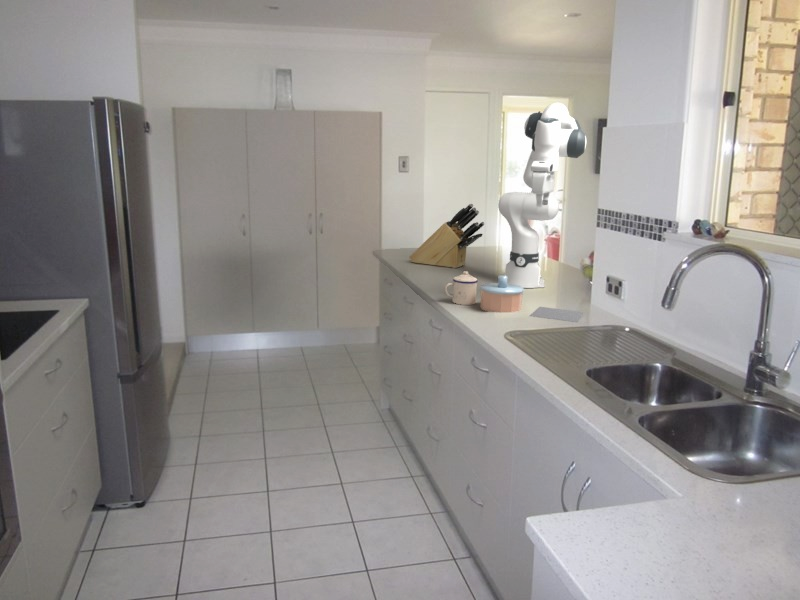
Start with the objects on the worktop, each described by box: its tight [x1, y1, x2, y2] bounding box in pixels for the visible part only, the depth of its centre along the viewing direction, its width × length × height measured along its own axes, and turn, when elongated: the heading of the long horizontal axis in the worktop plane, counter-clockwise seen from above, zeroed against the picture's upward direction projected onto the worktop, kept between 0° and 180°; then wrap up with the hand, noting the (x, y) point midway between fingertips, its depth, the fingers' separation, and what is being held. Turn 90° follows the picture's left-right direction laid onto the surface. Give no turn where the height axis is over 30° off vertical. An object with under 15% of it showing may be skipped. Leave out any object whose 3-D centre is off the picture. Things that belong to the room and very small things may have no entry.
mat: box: [529, 306, 585, 323], centre depth 225 cm, size 16×16×1 cm
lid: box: [480, 274, 525, 294], centre depth 230 cm, size 15×15×5 cm
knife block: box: [409, 203, 485, 269], centre depth 316 cm, size 11×35×31 cm, turn 61°
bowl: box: [479, 290, 524, 313], centre depth 231 cm, size 14×14×7 cm
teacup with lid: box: [444, 270, 478, 306], centre depth 239 cm, size 12×9×12 cm
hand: (542, 205), depth 229 cm, fingers open, 8 cm apart
